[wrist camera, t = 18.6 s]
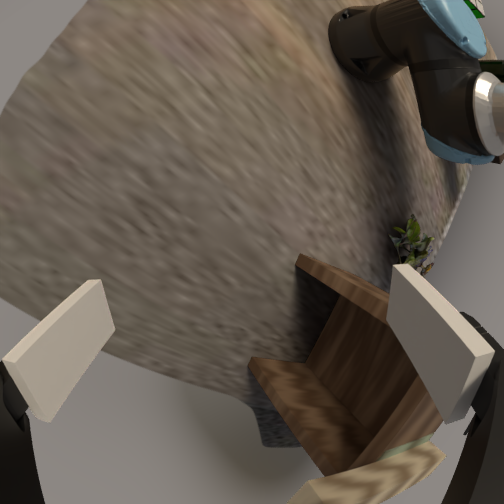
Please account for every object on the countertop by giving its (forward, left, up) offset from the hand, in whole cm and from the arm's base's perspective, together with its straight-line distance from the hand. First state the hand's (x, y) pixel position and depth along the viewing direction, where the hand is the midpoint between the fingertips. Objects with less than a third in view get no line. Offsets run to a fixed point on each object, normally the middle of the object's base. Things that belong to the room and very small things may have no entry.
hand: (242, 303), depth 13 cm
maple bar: (-8, +29, 0) cm, 30 cm away
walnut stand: (-16, +27, -30) cm, 43 cm away
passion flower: (-40, +21, -30) cm, 54 cm away
